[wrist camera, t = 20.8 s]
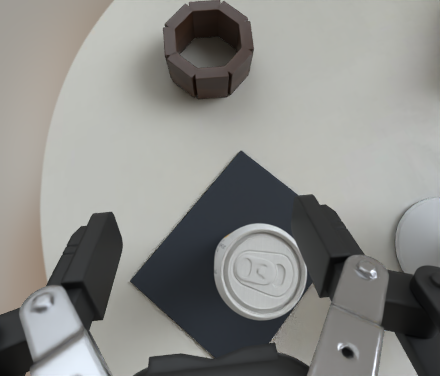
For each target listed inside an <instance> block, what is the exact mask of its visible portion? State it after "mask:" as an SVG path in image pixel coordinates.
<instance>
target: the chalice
mask: <svg viewBox="0 0 440 376" xmlns="http://www.w3.org/2000/svg"><path fill="white" fill-rule="evenodd" d="M395 246H396V253H397V257H398V260H399V263H400V266H401V268H402V270H403V271H404V273H408V274H414V273H415V271H416V269H417V268H419V267H421V266H425V265H430V266H436V267H440V197H434V198H429V199H425V200H422V201H420V202H418V203H416V204H414V205H413V206H412V207H411V208H410V209H408V210H407V211H406V212H405V214H404V215H403V217H402V219H401V220H400V222H399V225H398V228H397V231H396V240H395Z"/></svg>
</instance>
